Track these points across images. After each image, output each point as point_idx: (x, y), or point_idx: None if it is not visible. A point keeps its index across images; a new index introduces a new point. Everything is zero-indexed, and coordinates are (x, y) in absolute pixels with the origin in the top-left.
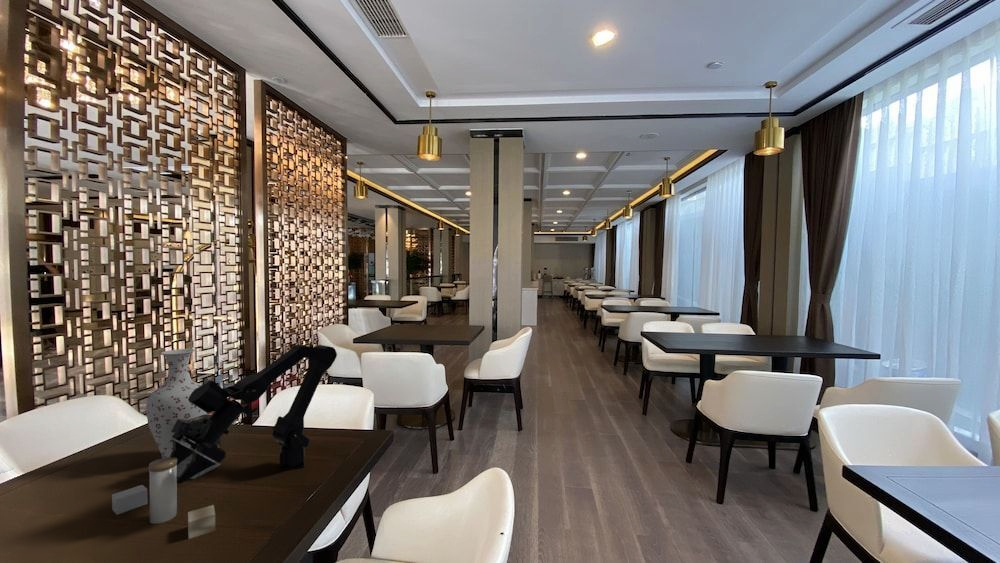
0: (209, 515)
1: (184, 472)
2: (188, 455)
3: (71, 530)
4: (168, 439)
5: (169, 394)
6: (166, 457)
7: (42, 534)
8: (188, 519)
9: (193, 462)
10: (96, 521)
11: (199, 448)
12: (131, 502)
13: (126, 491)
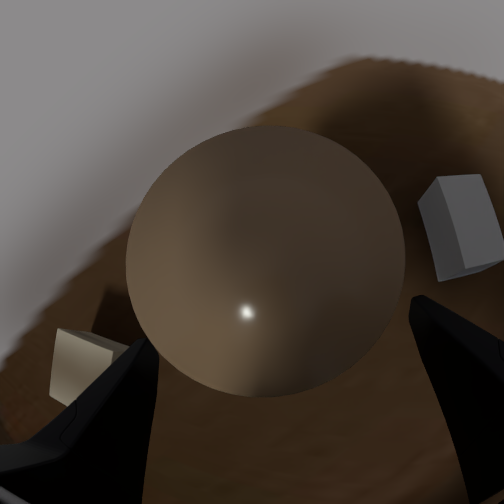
0: (53, 382)
1: (99, 380)
2: (464, 470)
3: (390, 120)
4: None
5: None
6: (392, 296)
7: (405, 88)
8: (69, 333)
9: (35, 437)
10: (407, 160)
11: None
12: (437, 229)
13: (483, 209)
